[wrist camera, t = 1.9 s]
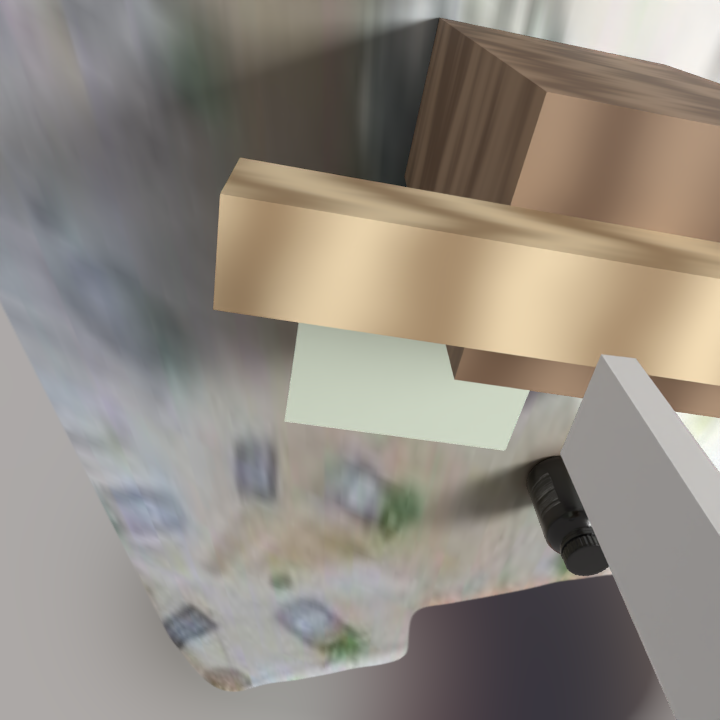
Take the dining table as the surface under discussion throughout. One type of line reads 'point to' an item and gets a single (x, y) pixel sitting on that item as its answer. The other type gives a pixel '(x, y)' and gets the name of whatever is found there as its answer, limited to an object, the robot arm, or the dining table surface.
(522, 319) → the oak rail
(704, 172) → the walnut stand
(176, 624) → the dining table surface
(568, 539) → the supplement bottle
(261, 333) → the dining table surface
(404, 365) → the sage plinth
